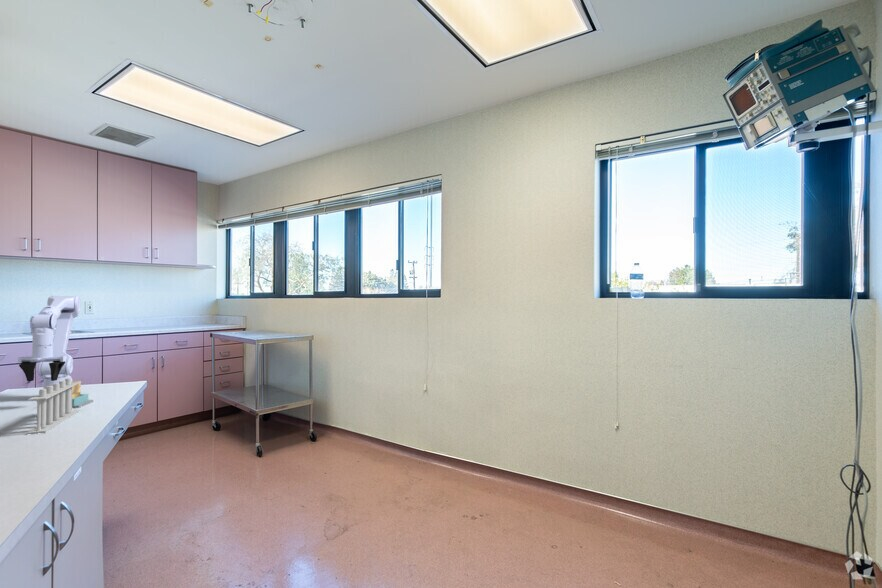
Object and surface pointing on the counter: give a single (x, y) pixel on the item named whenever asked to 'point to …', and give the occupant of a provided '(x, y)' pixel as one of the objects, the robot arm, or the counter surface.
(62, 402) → the test tube rack
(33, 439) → the counter surface
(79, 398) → the stand
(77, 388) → the plank
